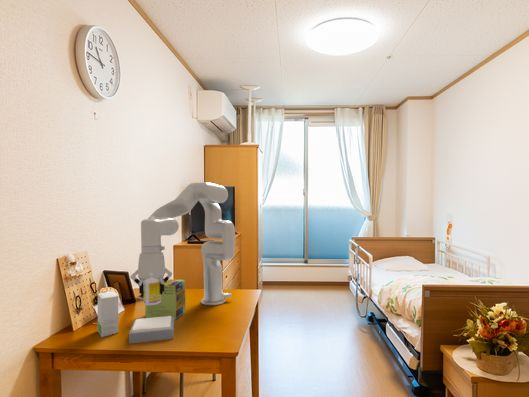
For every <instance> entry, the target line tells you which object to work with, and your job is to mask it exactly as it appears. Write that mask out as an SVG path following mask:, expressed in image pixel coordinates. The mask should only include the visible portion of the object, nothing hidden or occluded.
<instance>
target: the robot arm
mask: <svg viewBox="0 0 529 397" xmlns="http://www.w3.org/2000/svg"><path fill="white" fill-rule="evenodd" d="M228 198H229V192H228V190H227V188H226V187H225V186H223V185H219V184H217V183H212V182H207V181H202V182H201V181H200V182H192V183H189V184H187V185H186V187H185V188H184V189H183V191H181V192H180V193H179V194H178V195H177V196H176V198H175V199H174V200H171V201H169V202H168V203H166V204H164V205H162V206H160V207H158V208H157V209H156V210H154V211H153V212H152V214H151V215H150V216H149V217H148V218H145V219H143V220H141V222H140V239H141V240H140V244H141V247H140V248H141V249H140V250H141V251H140V252H141V253H139V255H138V263H137V264H138V265H137V266H138V267H137V269H136V271H134V273H132V274H130V279H131V280H132V281H133V282H134V283H135V284H136V285H138V287H139V288H138V290H139V292H138V293H139V294H140V295H141V296H143V281H144V279H148V278H150V277H153V278H159V280H160V282H161V284H160V294H162V293H163V292H164V283H165V282H166V281H167V280H168V279H170V278H171V277H172V276H173V273H172V271H171V270H169V269H168V268H167V267H166V265H165V264H166V262H165V254H164V252H163V251H164V250H165V249H166V248H165V247H166V246H164V245H162V236H172V235H174V234H176V233H177V232H178V230H179V222H178V220H177V219H175V218H176V217H180V216H184V215H187V214H188V213H190V212H191V211H192V210H193V208H194V207H195V206H196V204H197V203H198V202H199V203H200V204H201V206H202V207H203V209H204V215H205V216H204V233H205V236H206V237H207V238H208V239H216V240H208V241H205V242H203V244H202V245H201V249H200V252H201V258H202V262H203V264H202V265H203V298H202V299H201V300H200V302H201V305H204V306H217V305H222V304H224V303H226V298H229V299H230V298H232V296H233V295H232V293H229V292H226V293H225V292H223V266H222V263H221V261H230V260H232V259H233V258H234V256H235V251H236V250H235V247H236V245H235V244H236V243H235V242H236V229H235V225H234V223H233V222H232V221H231V220H225V219H223V218H222V208H221V206H220V205H219V204H224V203H225V202H226V201H227V200H228ZM217 239H220V240H217ZM150 273H152V274H153V275H152V276H149V274H150ZM165 274H167V275H166V276H165ZM136 276H137V277H136ZM140 279H141V280H140Z"/></svg>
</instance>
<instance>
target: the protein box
mask: <svg viewBox="0 0 529 397" xmlns="http://www.w3.org/2000/svg"><path fill="white" fill-rule="evenodd" d="M160 284H161V282H160ZM186 306H187V304H186V279H173V278H171V279H170V278H169V279H168V280H167V281H166V282H165V283H164V292H163V293H162V294H161V302H160V303H159V304H156V305H145V304H144V308H145V309H144V311H145V313H144V315H145V316H144V317H145V318H153V317H164V316H171V317H174V321H175V320H177V319H178V318H180V317H182V316H183V315H184V314H186V312H187V309H186V308H187V307H186Z"/></svg>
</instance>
